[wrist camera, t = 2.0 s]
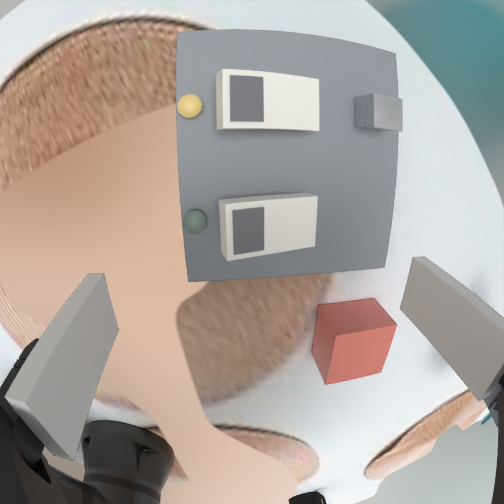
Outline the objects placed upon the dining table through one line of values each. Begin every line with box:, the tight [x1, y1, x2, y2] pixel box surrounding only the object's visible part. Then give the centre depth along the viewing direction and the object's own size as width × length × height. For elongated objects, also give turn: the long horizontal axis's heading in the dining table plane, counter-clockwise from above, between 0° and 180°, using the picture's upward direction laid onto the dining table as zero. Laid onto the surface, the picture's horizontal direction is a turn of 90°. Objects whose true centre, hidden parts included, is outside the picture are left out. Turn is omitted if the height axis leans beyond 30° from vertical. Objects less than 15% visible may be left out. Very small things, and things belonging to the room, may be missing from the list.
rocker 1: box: [216, 69, 319, 131], centre depth 16 cm, size 6×4×2 cm, turn 91°
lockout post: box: [354, 93, 402, 132], centre depth 17 cm, size 2×2×3 cm
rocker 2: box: [219, 192, 318, 261], centre depth 19 cm, size 6×4×2 cm, turn 91°
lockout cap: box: [312, 298, 397, 385], centre depth 27 cm, size 6×6×5 cm
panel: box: [176, 29, 398, 282], centre depth 20 cm, size 17×19×4 cm
